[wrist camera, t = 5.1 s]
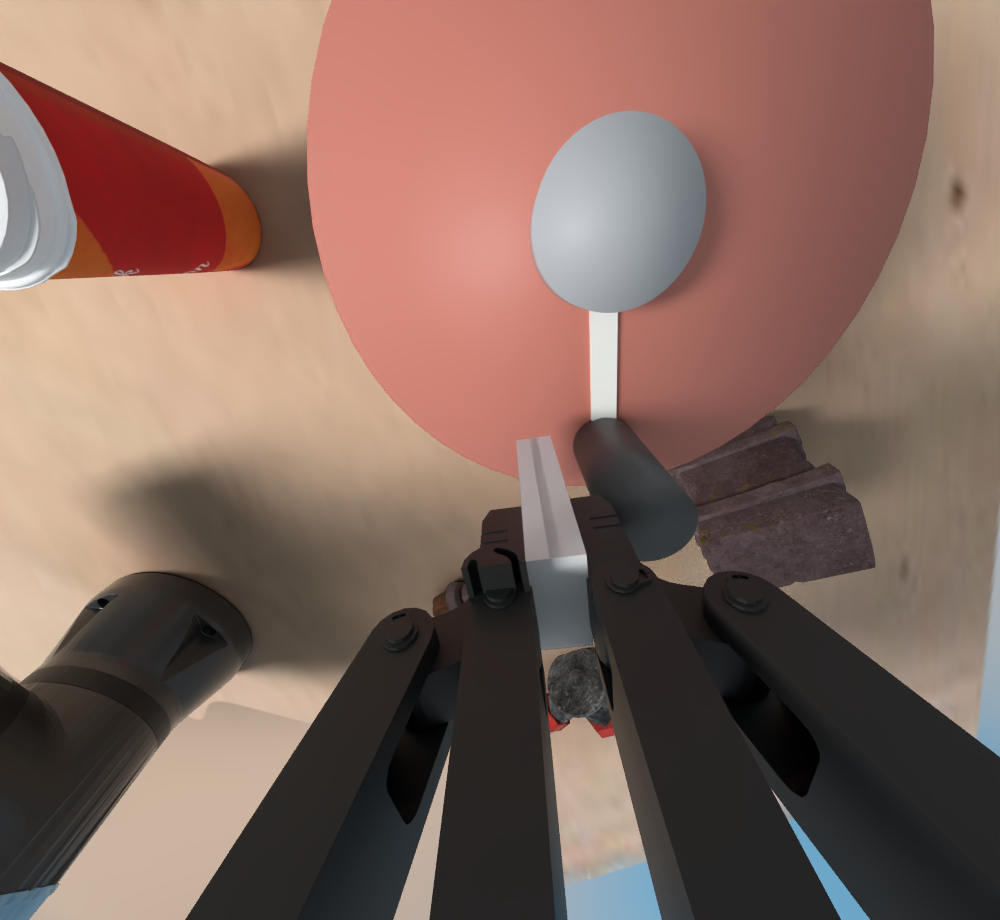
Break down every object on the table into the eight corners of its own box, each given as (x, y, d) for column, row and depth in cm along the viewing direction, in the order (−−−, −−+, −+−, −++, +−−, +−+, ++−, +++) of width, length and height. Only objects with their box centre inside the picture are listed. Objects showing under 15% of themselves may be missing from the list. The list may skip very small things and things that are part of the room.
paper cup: (136, 227, 24) (-285, 161, 11) (181, 110, 21) (-295, -145, 9) (248, 314, 26) (2, 342, 13) (302, 217, 23) (61, 138, 11)
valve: (562, 718, 49) (513, 667, 41) (759, 653, 45) (745, 581, 37) (574, 779, 44) (521, 732, 36) (801, 711, 39) (794, 641, 32)
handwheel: (286, -42, 13) (-269, -861, 4) (891, -165, 12) (2415, -1955, 2) (411, 464, 21) (338, 602, 12) (770, 428, 20) (997, 552, 11)
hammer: (801, 477, 29) (890, 576, 21) (471, 580, 43) (444, 664, 34) (778, 406, 27) (868, 485, 18) (436, 539, 40) (398, 619, 32)
